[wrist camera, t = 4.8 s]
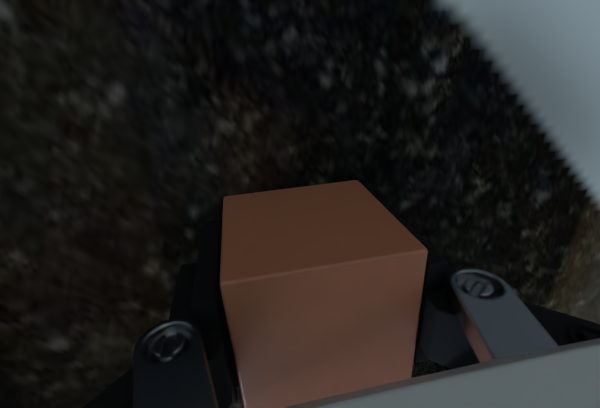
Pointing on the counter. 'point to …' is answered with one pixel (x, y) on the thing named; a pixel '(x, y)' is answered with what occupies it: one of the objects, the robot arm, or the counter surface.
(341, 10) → the counter surface
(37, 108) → the counter surface
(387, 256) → the block
